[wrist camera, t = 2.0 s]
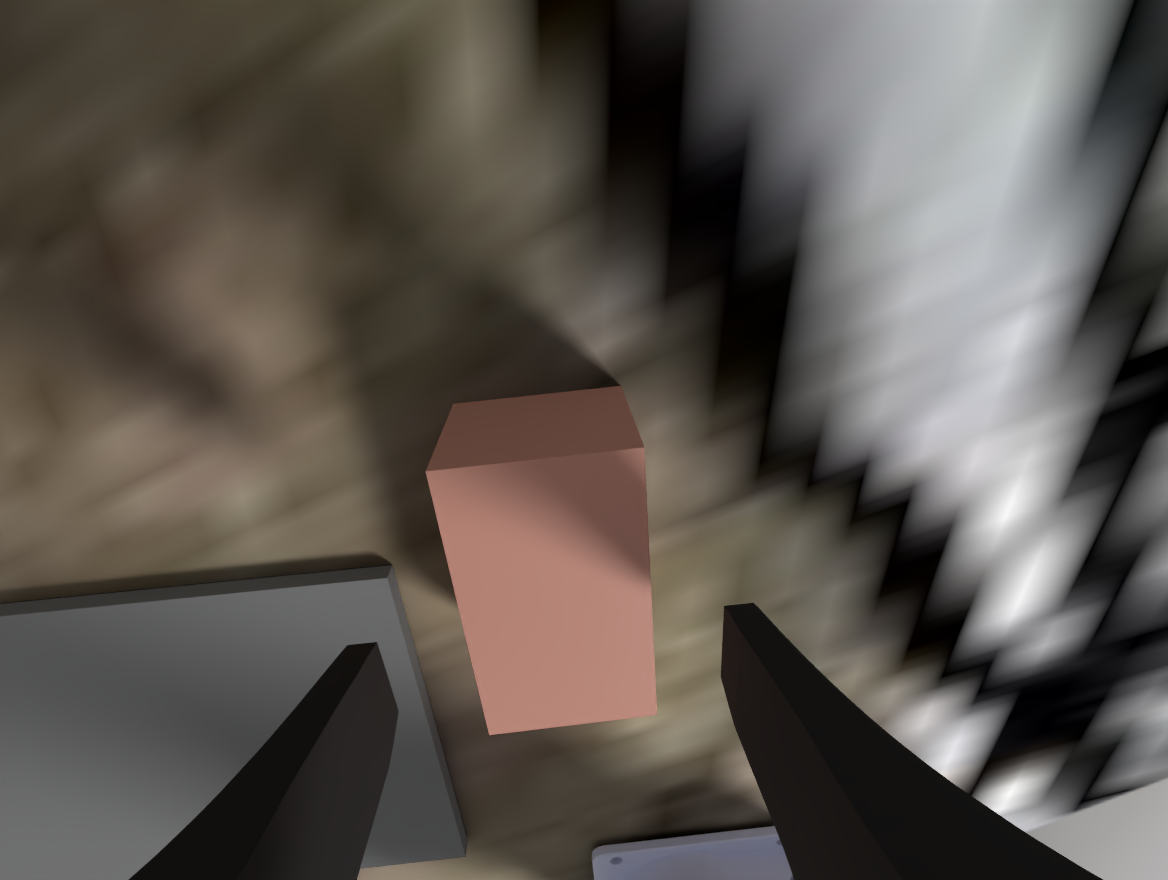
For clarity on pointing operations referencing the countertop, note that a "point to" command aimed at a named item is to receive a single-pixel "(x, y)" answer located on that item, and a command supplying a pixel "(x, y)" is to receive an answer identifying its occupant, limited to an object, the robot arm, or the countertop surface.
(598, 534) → the block
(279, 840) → the robot arm
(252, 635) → the mat
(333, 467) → the countertop surface
